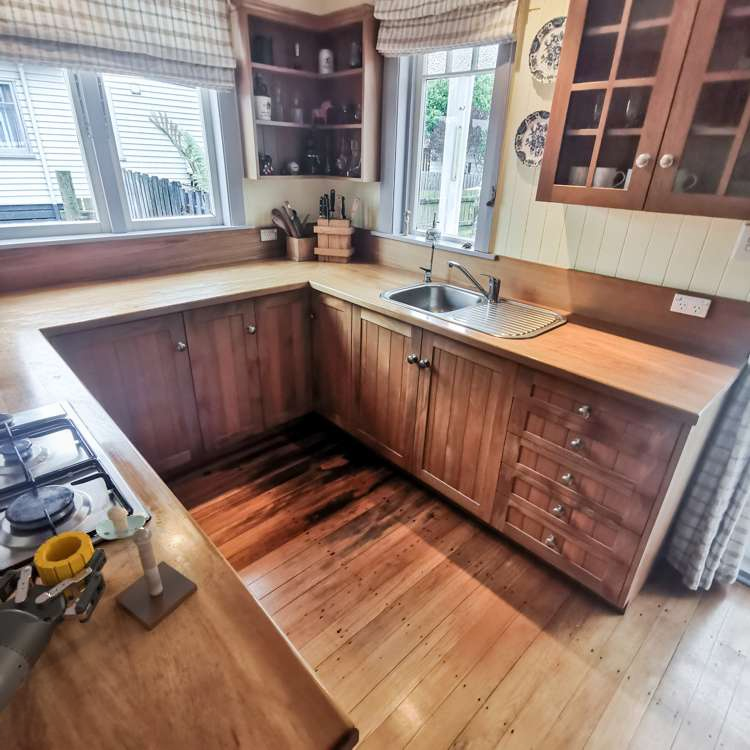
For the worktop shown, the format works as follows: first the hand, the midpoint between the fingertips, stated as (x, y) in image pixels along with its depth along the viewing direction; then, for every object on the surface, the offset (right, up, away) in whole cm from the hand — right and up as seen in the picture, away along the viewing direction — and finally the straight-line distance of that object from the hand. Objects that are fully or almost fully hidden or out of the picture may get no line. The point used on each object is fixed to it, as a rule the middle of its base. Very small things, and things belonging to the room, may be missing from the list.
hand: (77, 551), depth 68 cm
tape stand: (+11, -7, +1) cm, 13 cm away
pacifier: (+1, -1, +12) cm, 12 cm away
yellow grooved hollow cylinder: (0, -6, +1) cm, 6 cm away
